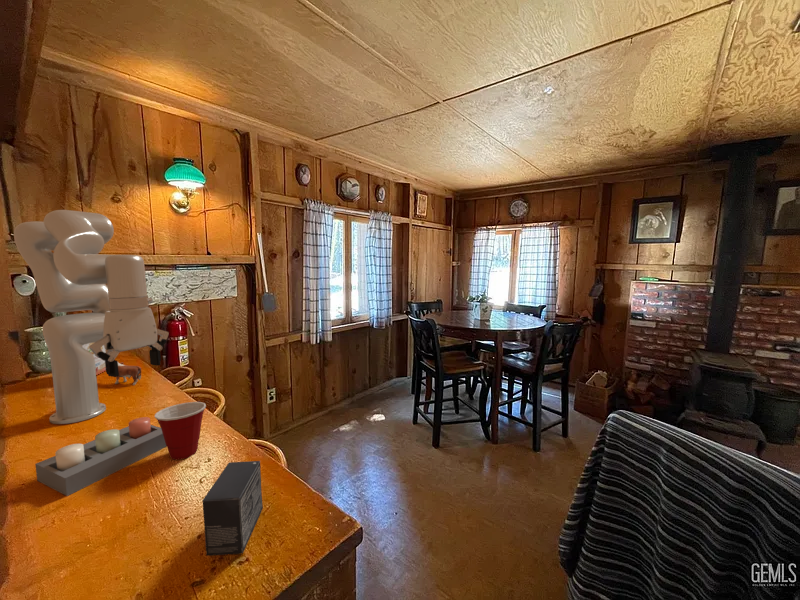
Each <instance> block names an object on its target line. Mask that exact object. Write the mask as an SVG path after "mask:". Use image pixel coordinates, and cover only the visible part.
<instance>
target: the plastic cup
mask: <svg viewBox="0 0 800 600" xmlns="http://www.w3.org/2000/svg"><path fill="white" fill-rule="evenodd" d="M206 407H207V405H206V403H205V402H201V401H190V402H188V401H187V402H183V403H177V404H174V405H171V406H166V407H165V408H162V409H160V410H159V411H157V412H156V413H154V418H155V419H156V420H157V422H158V424H159V427H160V428H161V429H162V433H163V436H164V439H165V443H166V446H167V447H166V448H167V450H168V455H169V457H170V458H171V460H175V461H176V460H177V461H178V460H184V459H188V458H190V457H192V456H194V455H195V454H196V452H198V449H199V442H200V440H199V439H200V438H201V437H200V435H201V429H202V421H203V417H204V416H203V415H204V412H205V409H206Z"/></svg>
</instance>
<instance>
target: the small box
mask: <svg viewBox="0 0 800 600" xmlns="http://www.w3.org/2000/svg"><path fill="white" fill-rule="evenodd" d="M262 494H263V493H262V473H261V460H253V461H251V460H250V461H249V460H248V461H231V462H229V461H228V463H227V465H226V466H225V468H224V469H223V471H222V472H221V473H220V475H219V476H218V477H217V479H216V480H215V482H214V483H213V485H212V486H211V487H210V489H209V490H208V492H207V493H206V495H205V496H203V497H204V498H203V499H202V500H201V502H202V512H203V524H204V525H203V526H204V541H205V552H206V553H205V554H206V557H207V556H227V555H228V554H229V555H242V554H243V553H244V552H245V550H246V549H247V546H248V543H249V540H250V539H251V536H252V534H253V532H254V529H255V527H256V525H257V523H258V520H259V518H260V516H261V514H262V510H263V509H264V506H263V505H264V504H263V497H262V496H263V495H262ZM241 553H242V554H241ZM229 555H228V556H229Z"/></svg>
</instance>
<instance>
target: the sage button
mask: <svg viewBox="0 0 800 600" xmlns="http://www.w3.org/2000/svg"><path fill="white" fill-rule="evenodd" d="M119 430H120V429H116V428H114V429H108V430H107V429H106V430H103V431H101V432H99V433H97V434H96V435H95V437H94V438H95V439H94V440H95V442H96V452H97V453H100V454H103V453H106V452H108V451H110V450H112V449H115V448H117V447H119V446H121V444H120V433H119Z"/></svg>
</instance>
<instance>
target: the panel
mask: <svg viewBox="0 0 800 600" xmlns="http://www.w3.org/2000/svg"><path fill="white" fill-rule="evenodd" d="M150 425H151V433H149V434H146V435H144V436H142V437H139V438H137V439H133V438H130V434H129V425H128V426H126V427H123V428H121V429H118V430H119V433H120V444H121V446H119V447H117V448H115V449H112V450H110V451H108V452H106V453H103V454H100V453H97V452H96V442H95V439H94V440H91V441H88V442H85V443H84V444H83V443H82V444H83V446H84V456H85V462H83V463H81V464H78V465H76V466H74V467H72V468H69V469H67V470H65V471H63V472H61V471H59V470H57V463H56V455H53V456H52V457H48V458H47V459H44V460H41V461H39V462H37V463H35V473H36V480H37V482H39V483H41V484H43V485H45V486H47V487H49V488H51V489H53V490H54V491H56V492H58V493H59V494H61V495H64V496H66V497H69V496H71V495H72V494H74V493H77V492H78V491H81V490H82V489H84V488H86V487H89V486H90V485H92V484H94V483H97V482H98V481H101V480H102V479H104V478H107V477H108V476H110V475H112V474H114V473H116V472H118V471H120V470H122V469H124V468H126V467H129V466H130V465H132V464H134V463H137V462H139V461H140V460H142V459H145V458H146V457H149V456H151V455H153V454H154V453H157V452H159V451H160V450H162V449H165V448H167V446H166V443H165V439H164V436H163V433H162V429H161V427H160V426H159V427H158V426H156V425H153V424H150Z"/></svg>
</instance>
